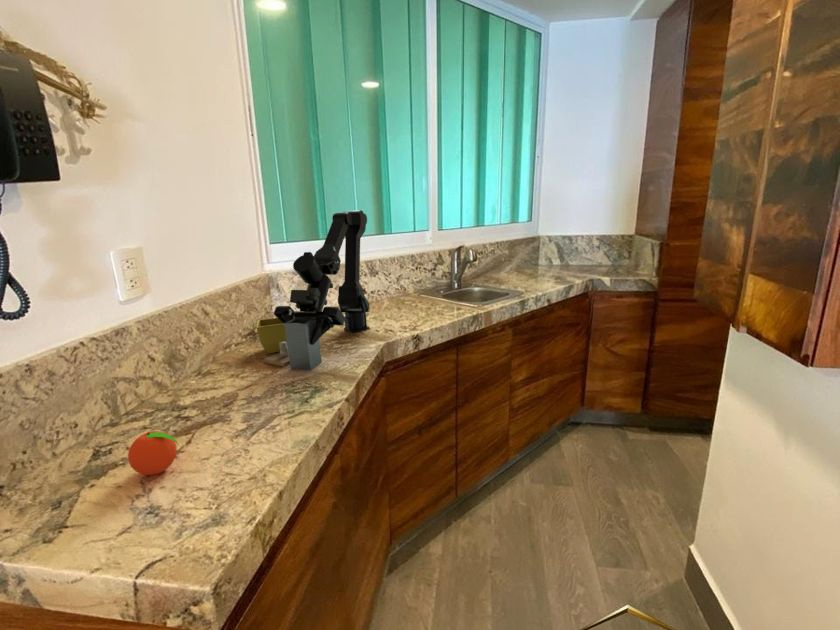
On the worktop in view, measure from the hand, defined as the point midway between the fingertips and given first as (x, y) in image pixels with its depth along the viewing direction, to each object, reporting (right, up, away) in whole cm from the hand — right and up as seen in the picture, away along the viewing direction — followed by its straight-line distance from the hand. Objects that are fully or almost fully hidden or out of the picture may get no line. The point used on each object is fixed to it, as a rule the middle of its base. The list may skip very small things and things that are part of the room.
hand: (300, 343), depth 116 cm
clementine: (-12, -19, -42) cm, 47 cm away
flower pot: (-12, -3, +17) cm, 21 cm away
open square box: (+1, -6, +3) cm, 7 cm away
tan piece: (-7, -5, +8) cm, 12 cm away
